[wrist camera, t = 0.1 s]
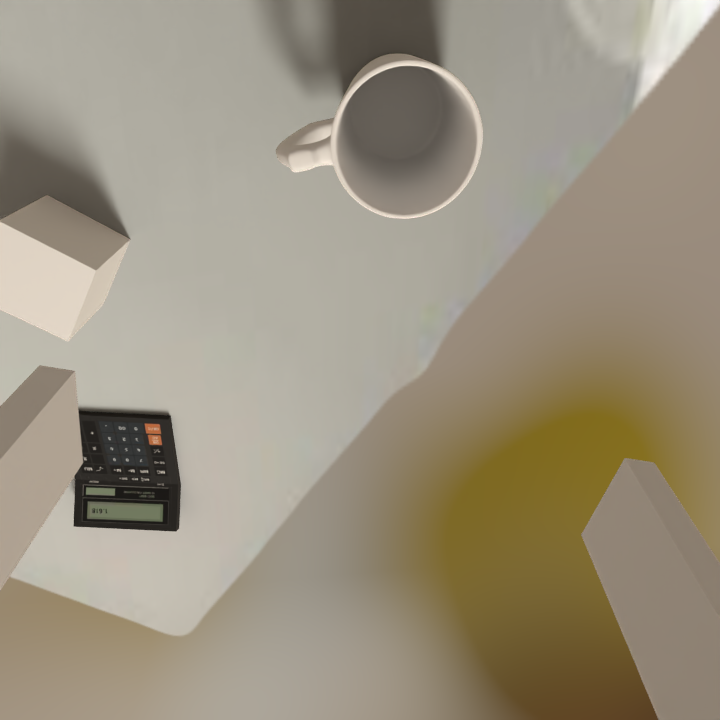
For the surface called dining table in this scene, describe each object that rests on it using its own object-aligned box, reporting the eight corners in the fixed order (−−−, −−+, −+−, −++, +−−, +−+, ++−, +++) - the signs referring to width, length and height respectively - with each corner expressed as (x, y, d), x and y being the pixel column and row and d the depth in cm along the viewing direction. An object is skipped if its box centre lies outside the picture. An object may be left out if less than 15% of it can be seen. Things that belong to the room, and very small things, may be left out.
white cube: (104, 303, 43) (68, 342, 37) (25, 264, 41) (-24, 299, 36) (131, 238, 40) (96, 270, 35) (47, 193, 38) (-3, 220, 33)
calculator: (171, 413, 48) (160, 435, 46) (185, 510, 54) (176, 534, 52) (62, 408, 48) (44, 429, 45) (88, 505, 54) (74, 529, 51)
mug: (443, 37, 33) (477, 43, 23) (454, 154, 37) (487, 205, 26) (279, 72, 34) (241, 92, 24) (304, 182, 38) (280, 241, 27)
